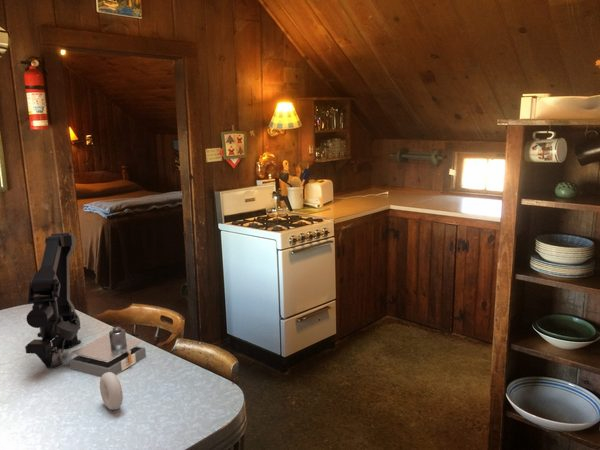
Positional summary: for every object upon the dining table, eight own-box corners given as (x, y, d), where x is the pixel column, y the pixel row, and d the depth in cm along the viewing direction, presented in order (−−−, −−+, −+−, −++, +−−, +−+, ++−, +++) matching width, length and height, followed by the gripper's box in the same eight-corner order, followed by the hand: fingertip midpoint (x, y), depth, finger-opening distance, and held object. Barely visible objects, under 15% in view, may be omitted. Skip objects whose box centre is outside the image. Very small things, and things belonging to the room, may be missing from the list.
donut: (126, 413, 137) (123, 378, 135) (113, 418, 135) (110, 382, 133) (112, 398, 144) (108, 365, 142) (99, 402, 142) (95, 369, 140)
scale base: (70, 369, 162) (69, 359, 162) (108, 348, 176) (107, 339, 176) (110, 378, 155) (109, 368, 155) (146, 356, 170) (146, 347, 169)
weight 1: (42, 367, 164) (40, 348, 163) (55, 360, 168) (53, 342, 167) (53, 369, 162) (51, 351, 161) (66, 363, 166) (64, 345, 165)
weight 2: (107, 348, 164) (105, 329, 162) (118, 342, 168) (116, 324, 167) (118, 350, 162) (116, 331, 160) (130, 344, 166) (128, 326, 164)
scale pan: (72, 363, 162) (71, 352, 161) (108, 344, 176) (107, 334, 175) (113, 373, 155) (112, 361, 154) (147, 353, 169) (146, 341, 168)
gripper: (57, 327, 152) (63, 376, 155) (87, 305, 170) (92, 349, 174) (21, 327, 153) (27, 376, 156) (54, 305, 171) (60, 349, 174)
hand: (54, 362), depth 165 cm, fingers open, 6 cm apart
